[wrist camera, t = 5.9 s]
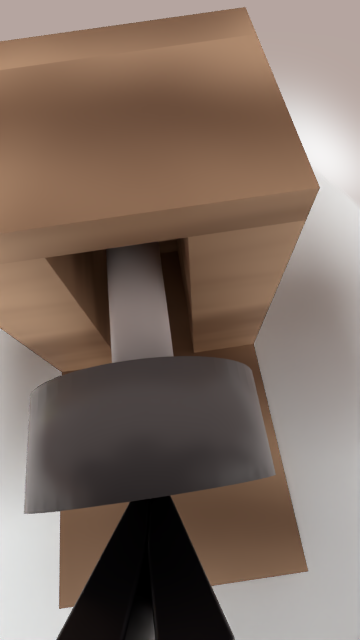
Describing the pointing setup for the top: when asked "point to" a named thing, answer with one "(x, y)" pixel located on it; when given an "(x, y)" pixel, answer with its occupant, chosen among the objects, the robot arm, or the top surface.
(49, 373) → the top surface
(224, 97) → the mount
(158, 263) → the knob
